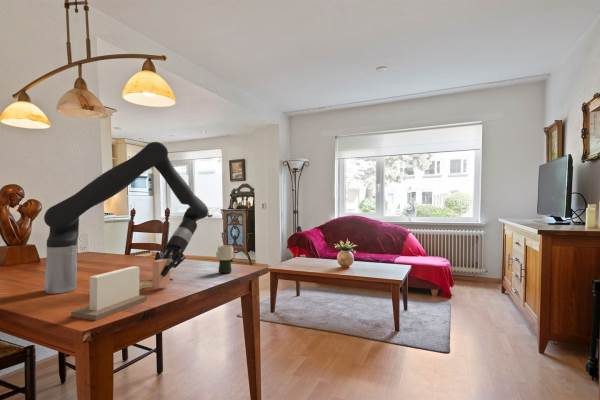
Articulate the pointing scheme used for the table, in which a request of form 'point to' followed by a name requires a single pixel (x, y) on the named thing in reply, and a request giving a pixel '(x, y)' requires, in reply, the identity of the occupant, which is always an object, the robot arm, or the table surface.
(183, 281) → the table surface
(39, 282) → the table surface
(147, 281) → the parchment
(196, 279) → the table surface
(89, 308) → the stand
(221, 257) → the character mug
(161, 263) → the stub
